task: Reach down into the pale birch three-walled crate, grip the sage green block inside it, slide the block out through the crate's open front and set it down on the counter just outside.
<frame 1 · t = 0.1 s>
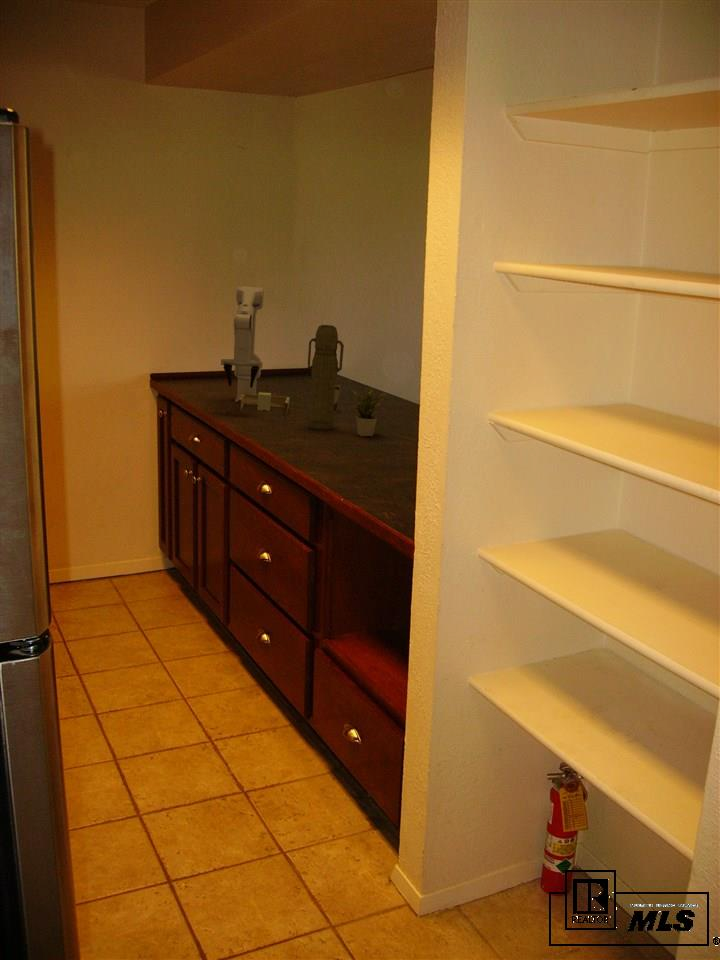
hand: (240, 386, 340), 10 cm above the table, tool pointing down, fingers open, 7 cm apart
food container: (323, 412, 360), on the table
brown tall piece: (321, 428, 330), on the table
sage block: (264, 401, 354), in the open crate
open crate: (263, 409, 355), on the table
house plant: (367, 436, 322), on the table
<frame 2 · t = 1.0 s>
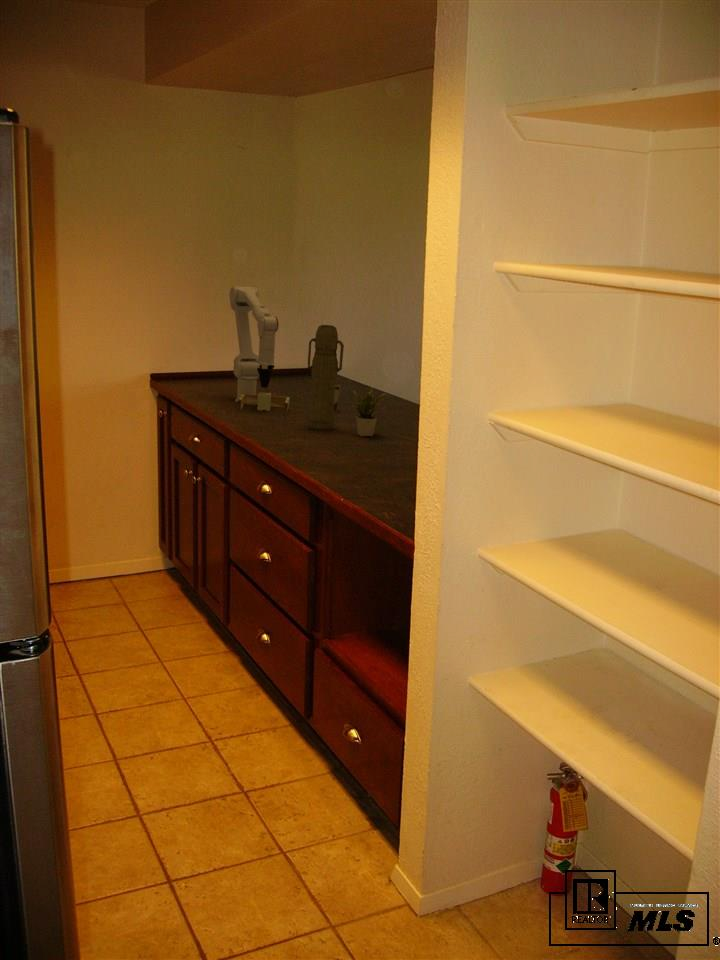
hand: (265, 385, 353), 9 cm above the table, tool pointing down, fingers open, 7 cm apart
nothing on the table moved.
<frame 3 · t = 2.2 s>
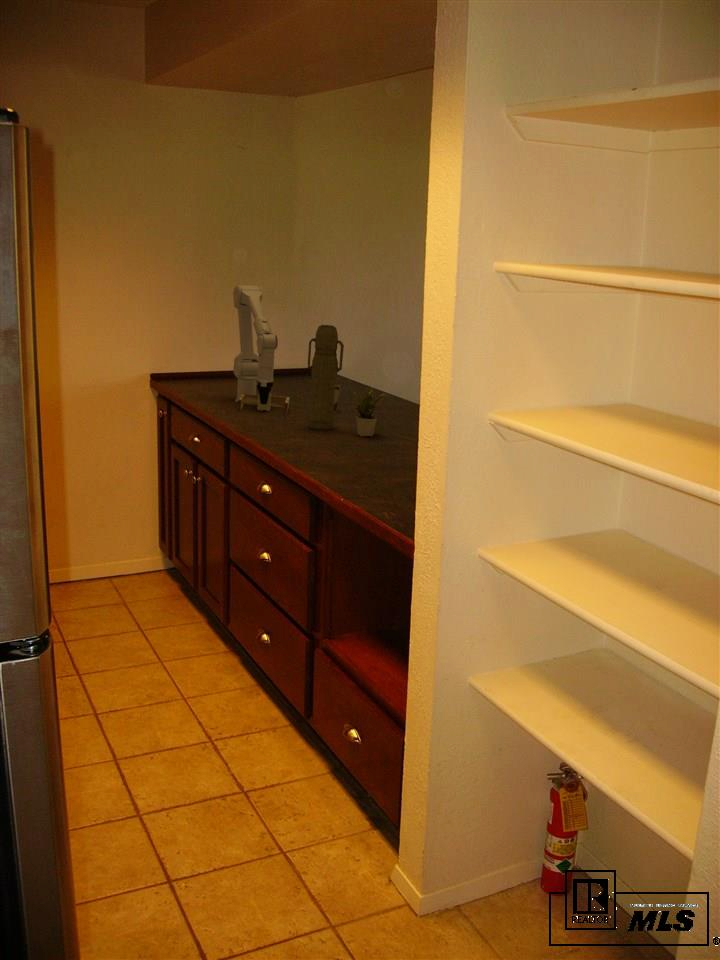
hand: (264, 403, 355), 2 cm above the table, tool pointing down, fingers closed on sage block, 4 cm apart
sage block: (264, 401, 354), in the open crate, touching gripper
everything else where it was.
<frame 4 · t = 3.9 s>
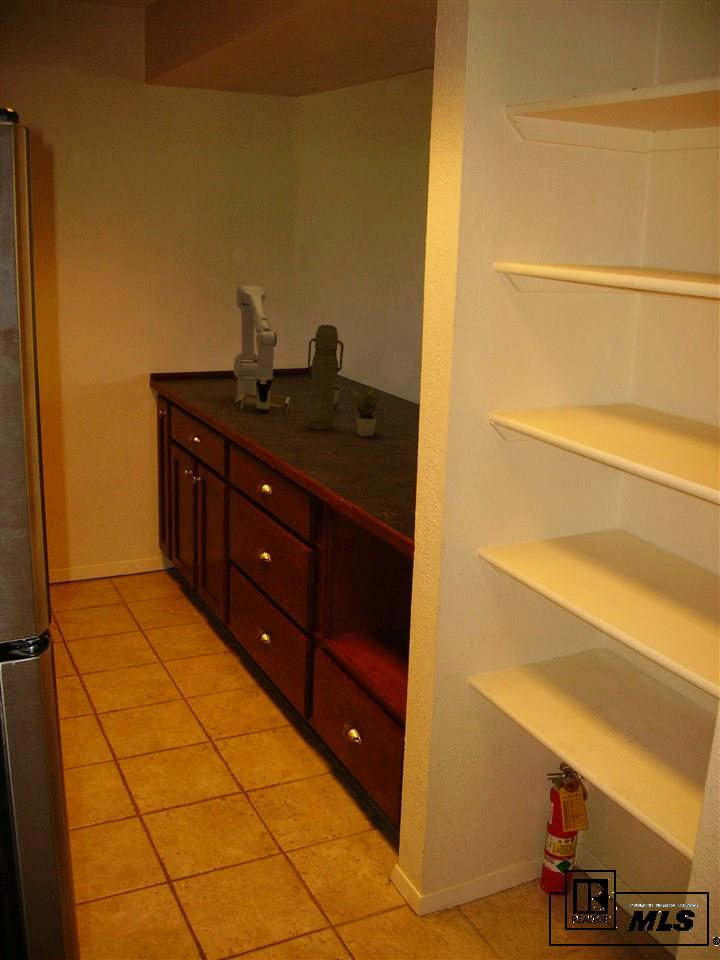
hand: (263, 400, 350), 4 cm above the table, tool pointing down, fingers closed on sage block, 4 cm apart
sage block: (263, 399, 350), point 4 cm above the table, touching gripper
everything else where it was.
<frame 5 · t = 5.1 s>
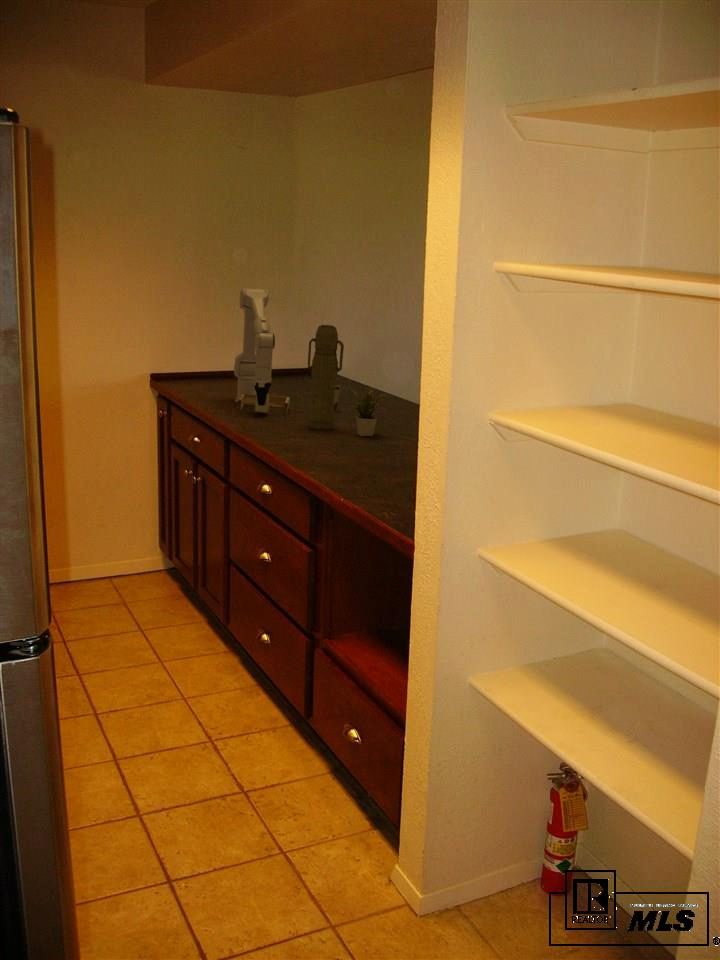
hand: (261, 404, 344), 4 cm above the table, tool pointing down, fingers closed on sage block, 4 cm apart
sage block: (262, 402, 343), point 4 cm above the table, touching gripper
everything else where it was.
when the fingers open (3 cm above the table, at t = 6.0 s): sage block stays where it is, on the table.
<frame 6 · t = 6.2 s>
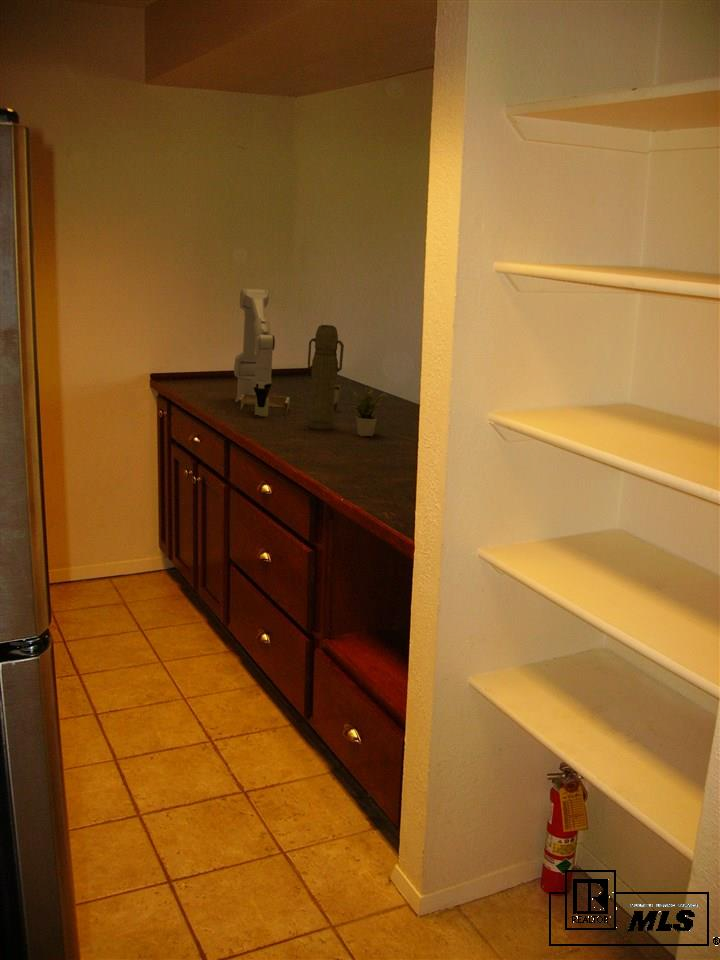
hand: (261, 405, 344), 3 cm above the table, tool pointing down, fingers open, 6 cm apart
sage block: (261, 406, 344), on the table
everything else where it was.
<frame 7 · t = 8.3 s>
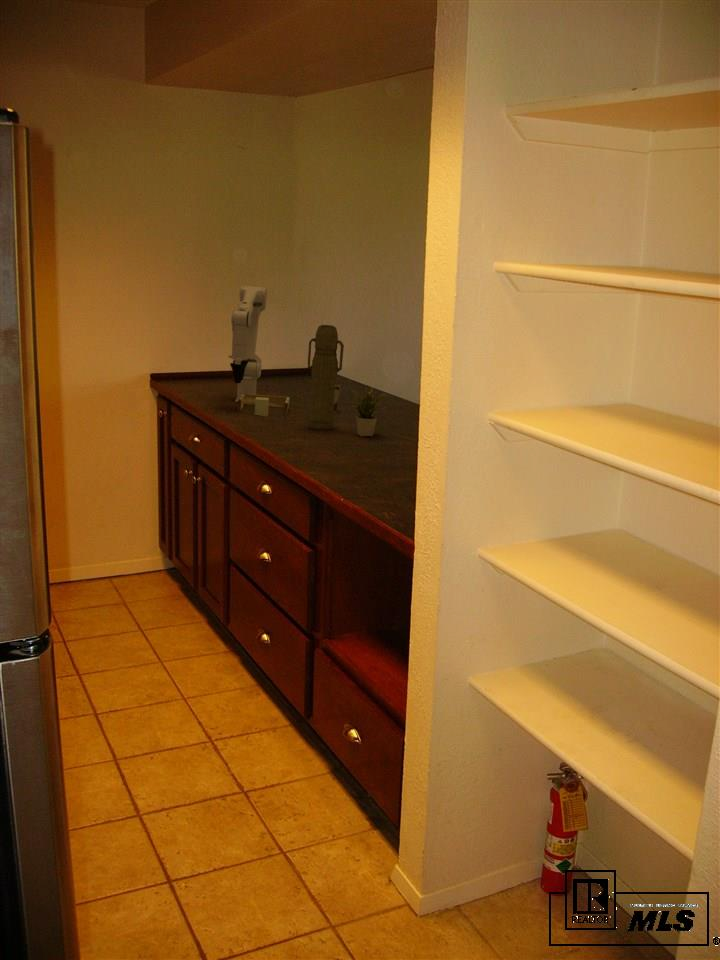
hand: (238, 381, 349), 10 cm above the table, tool pointing down, fingers open, 7 cm apart
nothing on the table moved.
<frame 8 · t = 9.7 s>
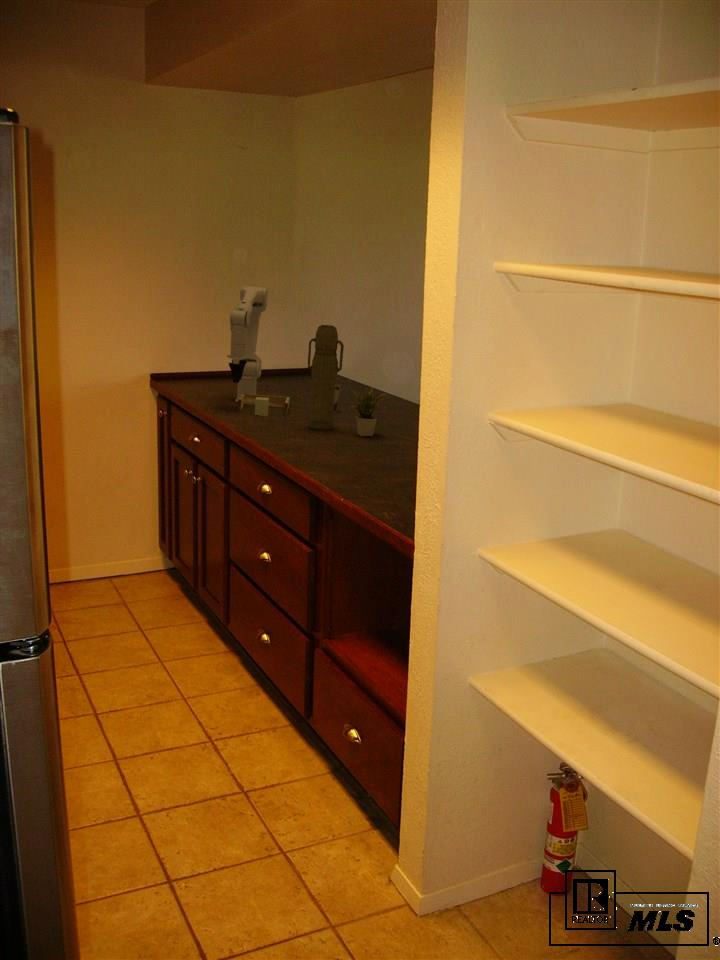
hand: (237, 381, 349), 10 cm above the table, tool pointing down, fingers open, 7 cm apart
nothing on the table moved.
at the end: sage block inside the target area (0.5 cm from its centre), on the table; sage block tilted 0°; the gripper is holding nothing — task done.
